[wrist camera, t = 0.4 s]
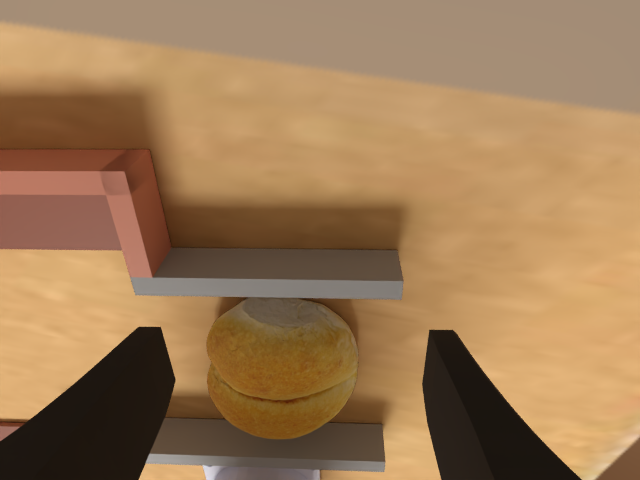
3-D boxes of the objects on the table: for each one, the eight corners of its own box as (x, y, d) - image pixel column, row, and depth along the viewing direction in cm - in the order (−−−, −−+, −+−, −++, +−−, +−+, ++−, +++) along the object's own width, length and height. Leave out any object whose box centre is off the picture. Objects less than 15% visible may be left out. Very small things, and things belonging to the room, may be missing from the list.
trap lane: (377, 479, 31) (379, 516, 29) (-174, 458, 33) (-211, 492, 31) (406, 149, 18) (414, 171, 16) (-483, 149, 20) (-580, 169, 18)
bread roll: (213, 395, 27) (195, 455, 24) (213, 281, 23) (190, 335, 19) (344, 411, 28) (344, 473, 24) (370, 302, 23) (375, 359, 20)
